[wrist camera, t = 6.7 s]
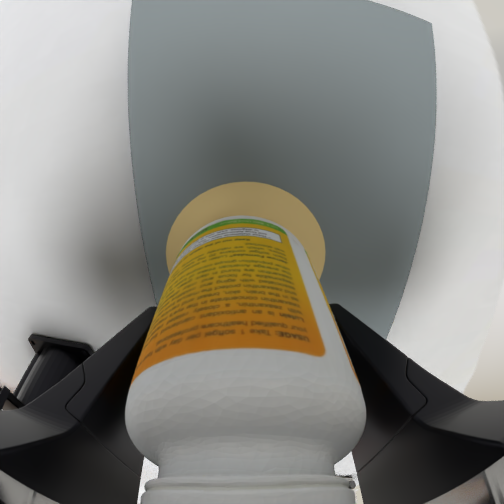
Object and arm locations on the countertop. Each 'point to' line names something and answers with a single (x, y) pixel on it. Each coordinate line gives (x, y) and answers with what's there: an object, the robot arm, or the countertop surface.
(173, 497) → the supplement bottle
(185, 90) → the slate board
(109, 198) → the countertop surface
